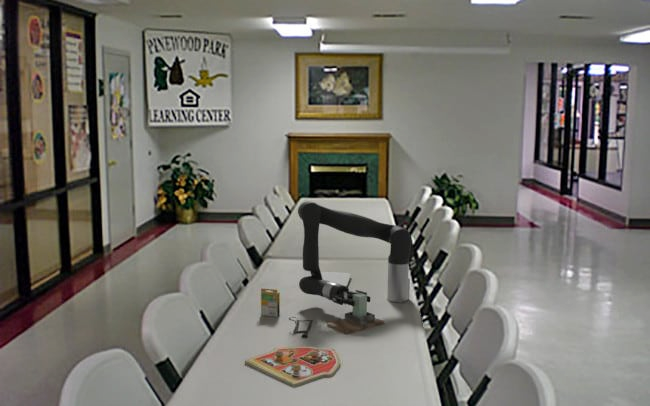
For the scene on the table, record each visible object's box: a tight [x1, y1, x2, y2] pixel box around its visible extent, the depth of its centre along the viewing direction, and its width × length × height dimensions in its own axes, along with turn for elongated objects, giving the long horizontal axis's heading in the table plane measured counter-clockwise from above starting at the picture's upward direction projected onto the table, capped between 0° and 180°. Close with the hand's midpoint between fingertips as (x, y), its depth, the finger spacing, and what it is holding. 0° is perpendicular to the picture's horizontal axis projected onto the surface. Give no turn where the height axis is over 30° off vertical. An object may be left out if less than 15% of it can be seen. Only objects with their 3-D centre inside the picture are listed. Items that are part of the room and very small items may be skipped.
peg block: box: [352, 293, 368, 318], centre depth 266 cm, size 4×4×11 cm
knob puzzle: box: [244, 345, 341, 388], centre depth 226 cm, size 29×30×4 cm
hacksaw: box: [288, 316, 314, 339], centre depth 262 cm, size 24×10×2 cm, turn 175°
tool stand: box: [326, 311, 385, 335], centre depth 265 cm, size 20×12×4 cm, turn 129°
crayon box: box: [260, 287, 281, 318], centre depth 276 cm, size 7×3×12 cm, turn 74°
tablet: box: [320, 271, 352, 288], centre depth 327 cm, size 16×26×2 cm, turn 172°
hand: (362, 301), depth 265 cm, fingers open, 8 cm apart
